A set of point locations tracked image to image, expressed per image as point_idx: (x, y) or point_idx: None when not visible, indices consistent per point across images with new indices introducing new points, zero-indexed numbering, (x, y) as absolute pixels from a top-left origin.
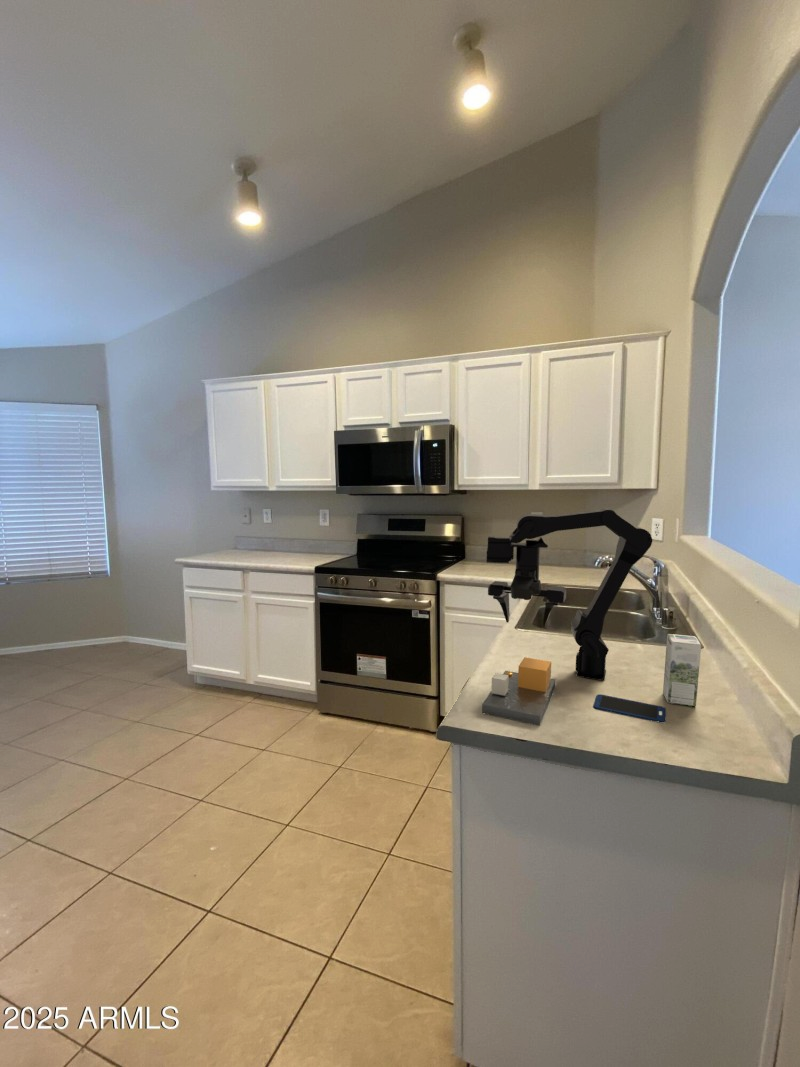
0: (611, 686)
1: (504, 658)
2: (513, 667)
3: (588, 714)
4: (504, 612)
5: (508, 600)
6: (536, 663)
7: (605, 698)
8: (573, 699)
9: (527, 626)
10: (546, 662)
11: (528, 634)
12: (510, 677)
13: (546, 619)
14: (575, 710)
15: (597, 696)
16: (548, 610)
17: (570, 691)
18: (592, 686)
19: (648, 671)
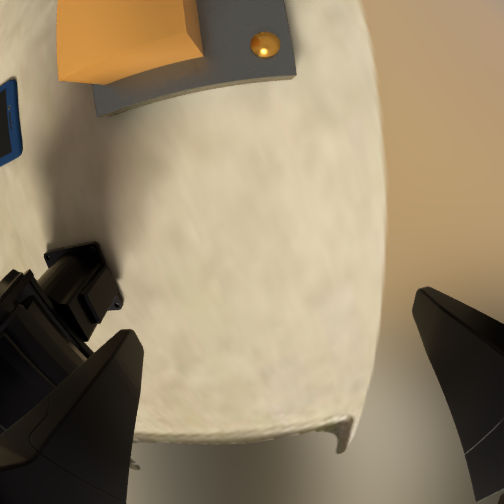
0: (26, 230)
1: (350, 258)
2: (300, 197)
3: (20, 42)
4: (491, 323)
5: (478, 454)
6: (107, 7)
7: (5, 142)
8: (53, 81)
9: (329, 431)
10: (71, 52)
11: (319, 411)
12: (250, 24)
13: (77, 370)
14: (42, 33)
15: (17, 139)
16: (22, 431)
17: (70, 123)
18: (47, 200)
19: None
